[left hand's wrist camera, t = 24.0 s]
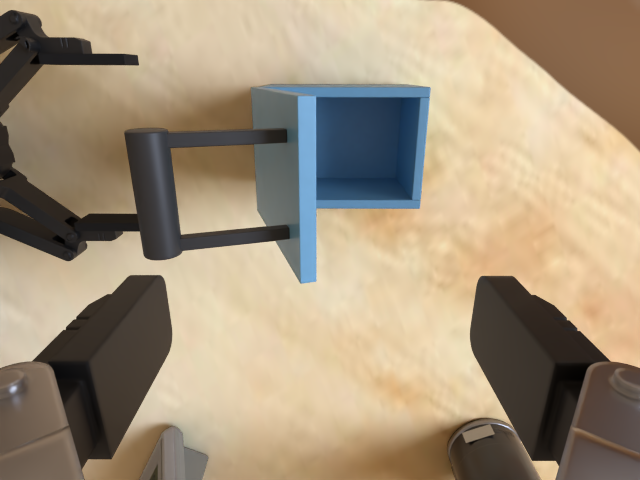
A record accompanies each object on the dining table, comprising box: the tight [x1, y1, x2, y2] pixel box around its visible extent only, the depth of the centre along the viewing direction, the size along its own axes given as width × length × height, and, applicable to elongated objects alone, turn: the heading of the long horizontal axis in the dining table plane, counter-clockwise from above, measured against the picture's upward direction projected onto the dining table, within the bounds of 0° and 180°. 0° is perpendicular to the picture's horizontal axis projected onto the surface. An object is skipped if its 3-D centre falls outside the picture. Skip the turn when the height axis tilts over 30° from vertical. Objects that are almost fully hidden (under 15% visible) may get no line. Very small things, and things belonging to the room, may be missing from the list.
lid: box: [124, 87, 316, 283], centre depth 26 cm, size 14×10×9 cm
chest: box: [261, 84, 431, 209], centre depth 38 cm, size 13×10×9 cm
